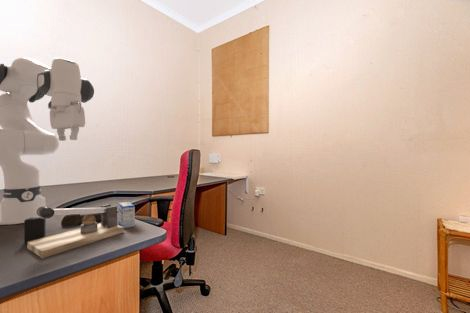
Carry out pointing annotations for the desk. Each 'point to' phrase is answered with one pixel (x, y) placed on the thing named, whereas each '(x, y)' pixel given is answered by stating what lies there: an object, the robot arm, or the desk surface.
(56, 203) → the desk surface
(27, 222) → the ink cartridge
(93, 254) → the desk surface
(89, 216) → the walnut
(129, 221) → the medicine box
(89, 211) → the lever
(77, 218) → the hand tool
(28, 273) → the desk surface
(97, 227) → the cracker base
